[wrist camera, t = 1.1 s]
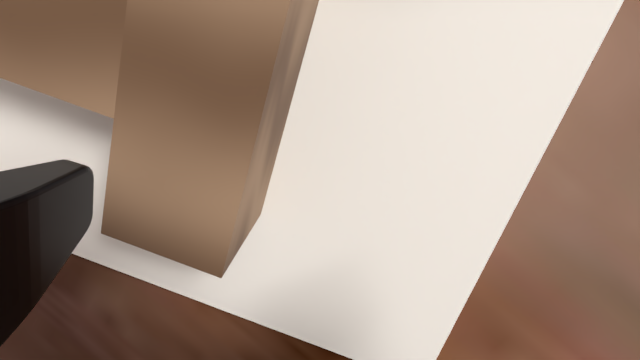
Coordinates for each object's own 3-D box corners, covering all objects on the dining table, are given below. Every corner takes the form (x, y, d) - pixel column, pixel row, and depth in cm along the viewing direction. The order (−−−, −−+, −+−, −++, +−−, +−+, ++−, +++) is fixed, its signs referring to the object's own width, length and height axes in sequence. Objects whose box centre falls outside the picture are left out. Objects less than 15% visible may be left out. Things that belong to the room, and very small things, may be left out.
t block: (260, 214, 22) (221, 278, 18) (-38, 105, 22) (-132, 146, 19) (360, -150, 16) (330, -160, 12) (-48, -281, 17) (-185, -324, 13)
